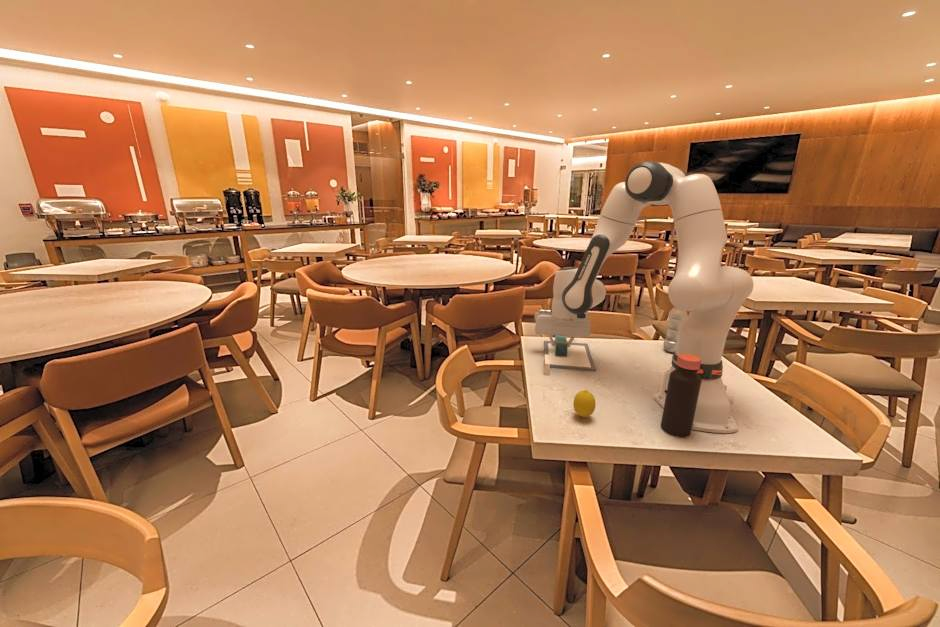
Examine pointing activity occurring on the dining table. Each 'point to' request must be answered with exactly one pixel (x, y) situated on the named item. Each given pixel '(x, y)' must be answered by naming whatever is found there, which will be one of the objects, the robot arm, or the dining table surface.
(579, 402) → the lemon
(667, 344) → the plastic bottle
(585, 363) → the writing board
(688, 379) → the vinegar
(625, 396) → the dining table surface
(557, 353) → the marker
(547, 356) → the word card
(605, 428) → the dining table surface
